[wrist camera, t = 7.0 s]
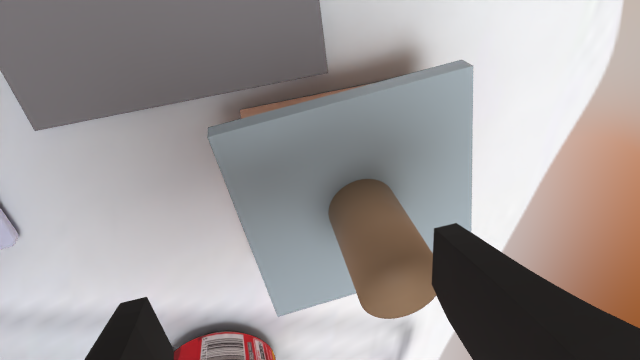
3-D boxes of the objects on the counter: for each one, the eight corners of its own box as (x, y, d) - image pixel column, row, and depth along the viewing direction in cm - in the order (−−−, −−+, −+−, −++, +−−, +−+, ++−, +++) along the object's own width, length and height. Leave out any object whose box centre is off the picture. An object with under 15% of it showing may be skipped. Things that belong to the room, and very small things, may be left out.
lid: (275, 303, 20) (291, 410, 15) (208, 127, 14) (202, 213, 10) (462, 247, 20) (528, 335, 16) (461, 59, 15) (559, 113, 11)
